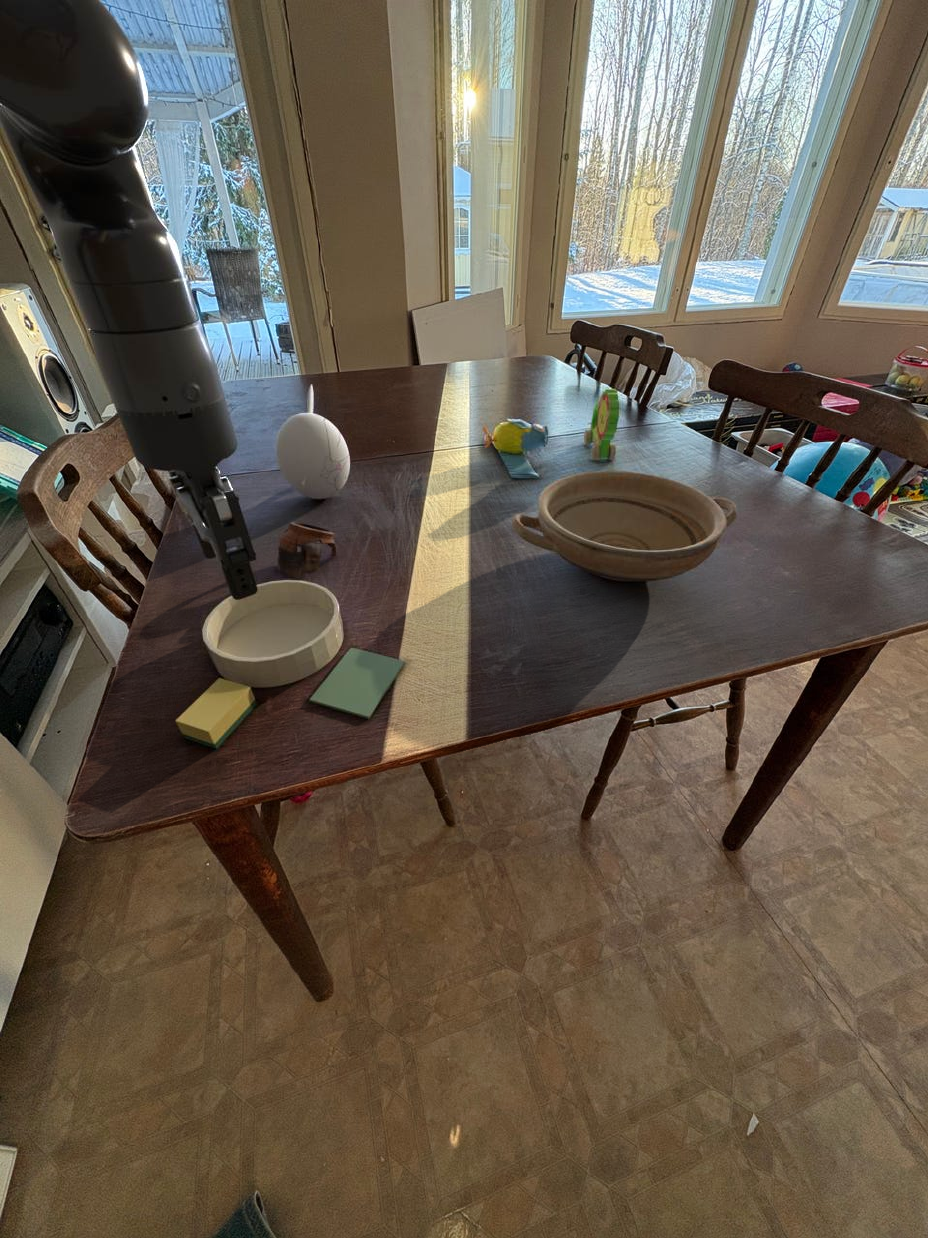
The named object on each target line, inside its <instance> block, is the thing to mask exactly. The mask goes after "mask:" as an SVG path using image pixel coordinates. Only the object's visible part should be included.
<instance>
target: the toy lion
mask: <svg viewBox="0 0 928 1238" xmlns="http://www.w3.org/2000/svg"><path fill="white" fill-rule="evenodd" d="M593 407H594V408H593V410H592V416H591V422H590V428H589V429H585V431H584V434H583V444H584V446H590V445H591V444H592V446H591V447H590V448H591V449H590V458H591V461H598V460H599V459H607V461H614V460H615V458H616V453H617V449H616V448H617V447H616V444H615V443H611V441H612V440H613V439H614V437H615V434H616V432H617V429H618V423H619V418H620V401H619V394H618V392H617V389H616V388H606V389H605V390H603V391H602V393H601V396H600V397H599V400H598V401H597V402H596V403H595V405H594V406H593Z"/></svg>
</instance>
